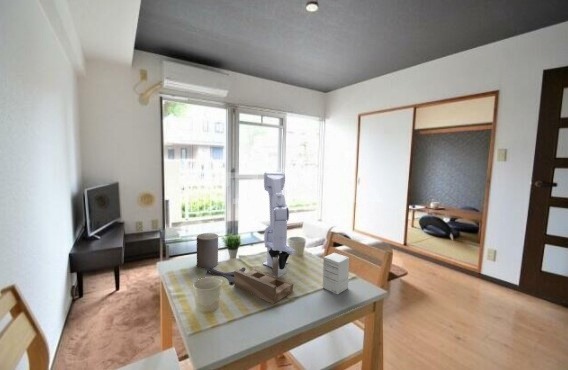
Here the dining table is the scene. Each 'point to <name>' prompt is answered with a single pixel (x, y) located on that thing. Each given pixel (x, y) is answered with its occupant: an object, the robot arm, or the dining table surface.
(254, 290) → the brown holed block
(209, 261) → the pillar candle
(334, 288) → the supplement box
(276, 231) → the robot arm
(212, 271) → the bracket
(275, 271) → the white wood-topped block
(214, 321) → the dining table surface
